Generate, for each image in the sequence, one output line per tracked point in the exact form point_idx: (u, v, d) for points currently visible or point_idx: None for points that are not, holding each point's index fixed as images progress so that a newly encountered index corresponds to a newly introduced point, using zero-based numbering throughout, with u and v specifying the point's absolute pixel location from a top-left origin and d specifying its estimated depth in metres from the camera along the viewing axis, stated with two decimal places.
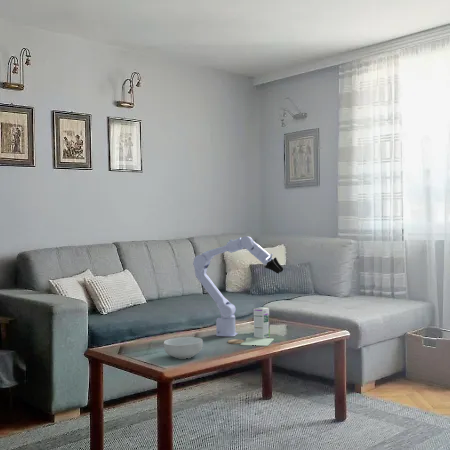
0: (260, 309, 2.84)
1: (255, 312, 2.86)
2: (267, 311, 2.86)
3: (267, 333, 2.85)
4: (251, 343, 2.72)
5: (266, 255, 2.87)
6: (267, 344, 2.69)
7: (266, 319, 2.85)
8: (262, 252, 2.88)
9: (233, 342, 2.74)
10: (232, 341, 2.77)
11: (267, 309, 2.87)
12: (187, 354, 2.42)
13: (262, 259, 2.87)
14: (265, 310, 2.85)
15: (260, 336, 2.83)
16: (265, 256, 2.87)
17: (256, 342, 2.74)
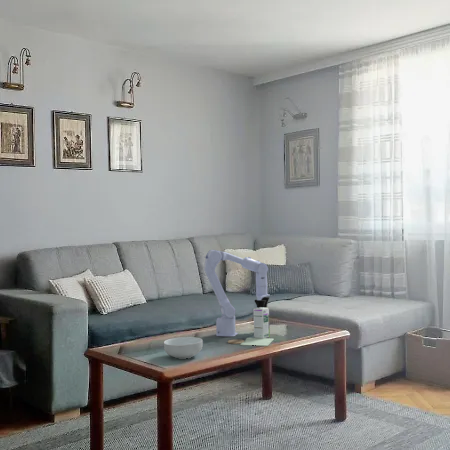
0: (260, 309, 2.84)
1: (255, 312, 2.86)
2: (267, 311, 2.86)
3: (267, 333, 2.85)
4: (251, 343, 2.72)
5: (264, 292, 2.96)
6: (267, 344, 2.69)
7: (266, 319, 2.85)
8: (263, 288, 2.96)
9: (233, 342, 2.74)
10: (232, 341, 2.77)
11: (267, 309, 2.87)
12: (187, 354, 2.42)
13: (258, 292, 2.96)
14: (265, 310, 2.85)
15: (260, 336, 2.83)
16: (262, 292, 2.96)
17: (256, 342, 2.74)
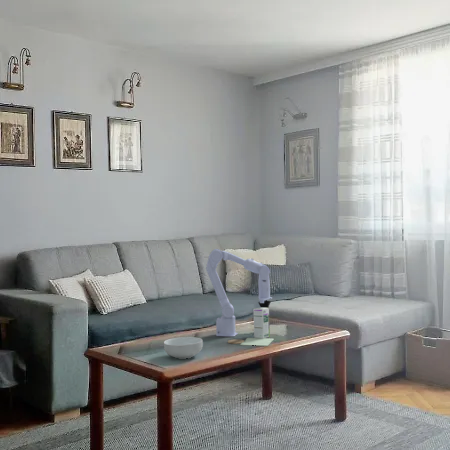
0: (260, 309, 2.84)
1: (255, 312, 2.86)
2: (267, 311, 2.86)
3: (267, 333, 2.85)
4: (251, 343, 2.72)
5: (266, 295, 2.92)
6: (267, 344, 2.69)
7: (266, 319, 2.85)
8: (266, 290, 2.92)
9: (233, 342, 2.74)
10: (232, 341, 2.77)
11: (267, 309, 2.87)
12: (187, 354, 2.42)
13: (261, 295, 2.93)
14: (265, 310, 2.85)
15: (260, 336, 2.83)
16: (265, 295, 2.92)
17: (256, 342, 2.74)
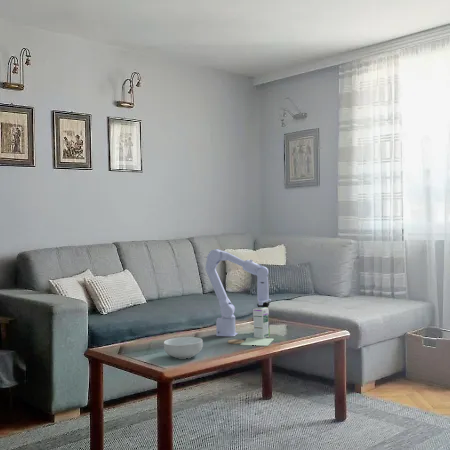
0: (259, 309, 2.83)
1: (254, 312, 2.85)
2: (266, 311, 2.85)
3: (267, 333, 2.85)
4: (251, 343, 2.72)
5: (265, 297, 2.89)
6: (267, 344, 2.69)
7: (266, 319, 2.85)
8: (265, 292, 2.89)
9: (233, 342, 2.74)
10: (232, 341, 2.77)
11: (267, 309, 2.86)
12: (187, 354, 2.42)
13: (260, 297, 2.90)
14: (264, 310, 2.84)
15: (260, 336, 2.83)
16: (264, 297, 2.89)
17: (256, 342, 2.74)
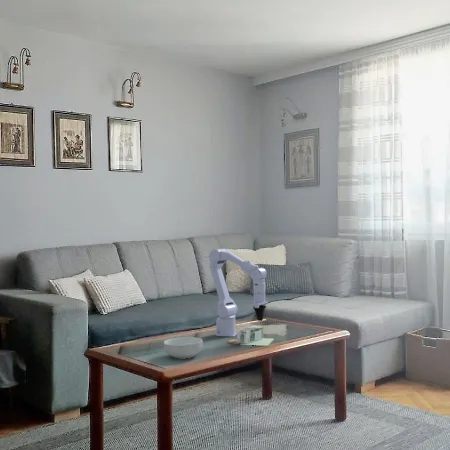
0: None
1: None
2: (248, 334, 2.72)
3: (261, 332, 2.81)
4: (251, 343, 2.72)
5: (262, 300, 2.81)
6: (267, 344, 2.69)
7: (253, 335, 2.75)
8: (261, 295, 2.81)
9: (233, 342, 2.74)
10: (232, 341, 2.77)
11: (247, 334, 2.71)
12: (187, 354, 2.42)
13: (256, 299, 2.81)
14: (247, 338, 2.72)
15: None
16: (260, 300, 2.81)
17: (256, 342, 2.74)
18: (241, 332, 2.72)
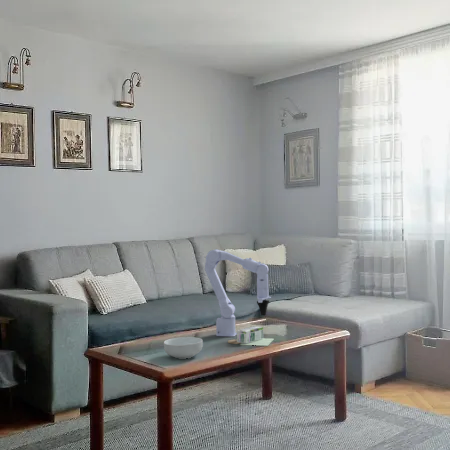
0: None
1: None
2: (248, 334, 2.72)
3: (261, 332, 2.81)
4: (251, 343, 2.72)
5: (265, 295, 2.89)
6: (267, 344, 2.69)
7: (253, 335, 2.75)
8: (265, 290, 2.89)
9: (233, 342, 2.74)
10: (232, 341, 2.77)
11: (246, 334, 2.71)
12: (187, 354, 2.42)
13: (259, 294, 2.89)
14: (247, 338, 2.72)
15: None
16: (264, 295, 2.89)
17: (256, 342, 2.74)
18: (241, 332, 2.72)
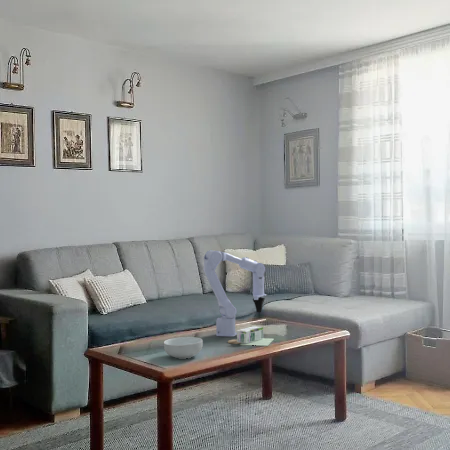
0: None
1: None
2: (248, 334, 2.72)
3: (261, 332, 2.81)
4: (251, 343, 2.72)
5: (261, 292, 2.98)
6: (267, 344, 2.69)
7: (253, 335, 2.75)
8: (260, 287, 2.98)
9: (233, 342, 2.74)
10: (232, 341, 2.77)
11: (246, 334, 2.71)
12: (187, 354, 2.42)
13: (255, 292, 2.99)
14: (247, 338, 2.72)
15: None
16: (259, 292, 2.98)
17: (256, 342, 2.74)
18: (241, 332, 2.72)
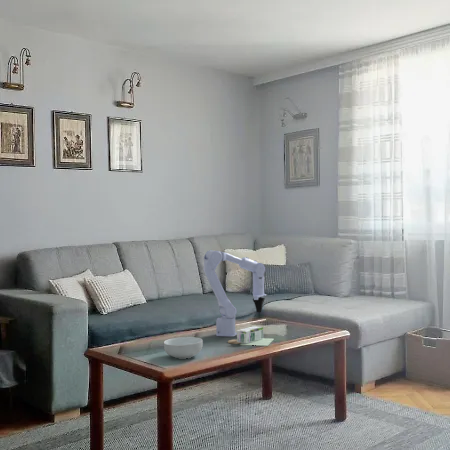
0: None
1: None
2: (248, 334, 2.72)
3: (261, 332, 2.81)
4: (251, 343, 2.72)
5: (261, 292, 2.98)
6: (267, 344, 2.69)
7: (253, 335, 2.75)
8: (260, 287, 2.98)
9: (233, 342, 2.74)
10: (232, 341, 2.77)
11: (246, 334, 2.71)
12: (187, 354, 2.42)
13: (255, 292, 2.99)
14: (247, 338, 2.72)
15: None
16: (259, 292, 2.98)
17: (256, 342, 2.74)
18: (241, 332, 2.72)
